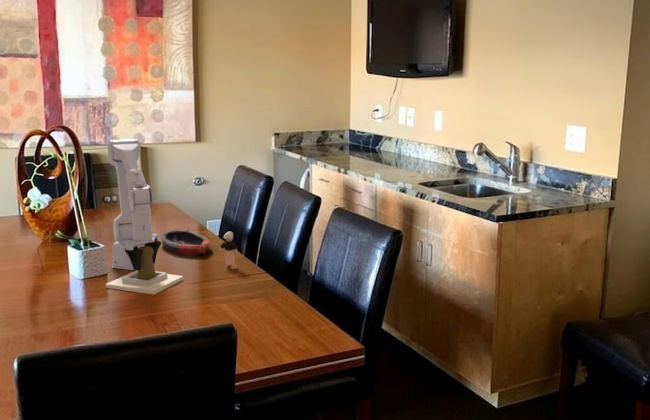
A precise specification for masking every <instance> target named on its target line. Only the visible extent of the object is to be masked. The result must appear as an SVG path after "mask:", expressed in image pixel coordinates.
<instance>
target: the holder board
mask: <svg viewBox="0 0 650 420" xmlns="http://www.w3.org/2000/svg"><path fill="white" fill-rule="evenodd" d="M155 274H156V277H154V278H152V279H150V280H141V279H137V276H138V270H133V272H130V273H128V274H125V275H123V276H121V277H119V278H116V279H114V280H112V281H109V282H106V283H105V288H107V289H112V290H113V289H114V290H120V291H127V292H133V293H134V292H135V293H142V294H147V295H156V294H158V293H160V292H162V291H164V290H166V289H167V288H168V289H169V288H170V287H171V286H173V285H175V284H178V283H180V282H182V281H183V280H184V276H183V275H177V274H169V273H167V272H163V271H157V270H155Z"/></svg>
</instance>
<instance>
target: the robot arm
mask: <svg viewBox="0 0 650 420" xmlns="http://www.w3.org/2000/svg"><path fill="white" fill-rule="evenodd" d="M107 155H108V162H109V165H111V166H114V169H115V171H116V177H117V178H116V179H117V185H118V186H117V187H118V198H119V206H120V207H119V208H120V213H119V215H117V217H115V218H114V219H113V221H112V222H113V229H112V230H113V238H114V243H113V244H112V247H111V255H112V258H111V259H112V266H111V268H113V269H119V270H120V269H121V270H130V271H137V270H138V271H139V270H140V269H141V256H142V252H143V250H141V249H139V247H142V246H150V247H152V248H153V250H154V253H153V256H152V259H153V264H154V265H155V264H156V261H157V255H158V251H159V248H160V246H161V245H162V240H160V233H153V232H152V231H153V229H152V228H153V227H152V212H151V210H152V209H151V205H152V204H153V193H152V188H151V186H150V185H149V184H147V183H146V178H145V176H144V173H143V171H142V170H140V169H139V166H138V160H139V158H140V155H141V145H140V140H138V138H133V139H132V138H131V139H113V140H112V139H109V140H108V142H107ZM126 222H127V223H126Z"/></svg>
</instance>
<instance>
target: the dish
mask: <svg viewBox="0 0 650 420" xmlns="http://www.w3.org/2000/svg"><path fill="white" fill-rule="evenodd" d="M160 241H161V243H162V244H163V246H164V247H165V248H166V249H168V250H169V251H171V252H173V253H176V254H180V255H186V256H187V255H188V256H196V255H197V256H198V255H199V256H200V255H203V254H206V253H207V251H208V248H209V246H210V245H211V242H210V240H209V239H208V238H207V237H206V236H204V235H202V234H200V233H197V232H194V231H191V230H190V229H186V230H180V229H179V230H176V229H175V230H167V231H165V232H163V233H162V234H161V235H160Z"/></svg>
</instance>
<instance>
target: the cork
mask: <svg viewBox="0 0 650 420" xmlns="http://www.w3.org/2000/svg"><path fill="white" fill-rule="evenodd" d="M139 249H141V250H143V252H142V256H141V269H140V270H139V271H138V276H137V279H141V280H150V279H152V278H154V277H156V274H155V271H156V270H155V264H153V259H152V256H153V253H154V250H153V248H152V247H150V246H144V245H141V247H139Z"/></svg>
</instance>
